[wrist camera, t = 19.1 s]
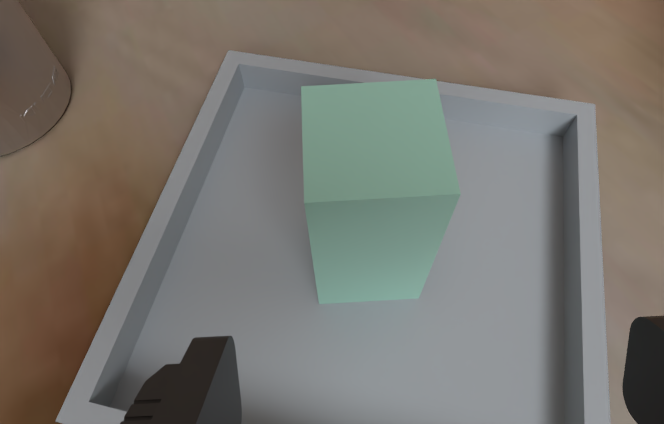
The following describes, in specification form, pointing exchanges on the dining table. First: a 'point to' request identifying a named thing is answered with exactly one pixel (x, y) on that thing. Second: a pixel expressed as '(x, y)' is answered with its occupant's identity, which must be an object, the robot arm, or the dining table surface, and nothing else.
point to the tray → (370, 316)
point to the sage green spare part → (375, 187)
